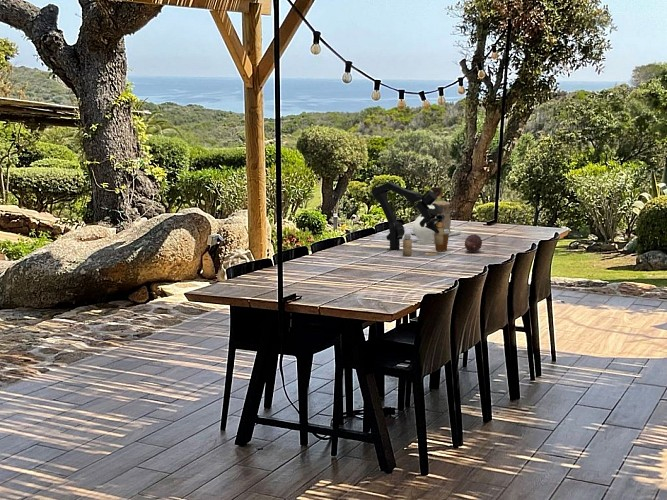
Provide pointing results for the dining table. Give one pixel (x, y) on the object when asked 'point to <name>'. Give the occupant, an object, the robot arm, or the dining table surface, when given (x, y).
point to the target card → (425, 253)
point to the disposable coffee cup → (445, 241)
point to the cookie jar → (445, 206)
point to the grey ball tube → (407, 245)
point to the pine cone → (473, 243)
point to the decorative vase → (423, 230)
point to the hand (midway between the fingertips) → (441, 232)
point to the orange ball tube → (439, 234)
